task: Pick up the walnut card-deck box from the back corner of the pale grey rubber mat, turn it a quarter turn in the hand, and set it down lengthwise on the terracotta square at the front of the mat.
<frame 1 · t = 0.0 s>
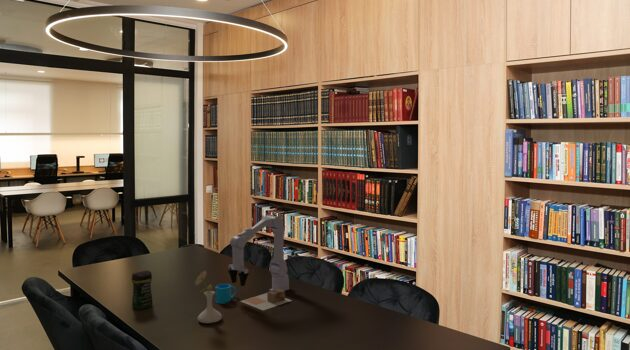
hand: (238, 284, 242), 10 cm above the table, tool pointing down, fingers open, 7 cm apart
card mat: (266, 301, 244), on the table
coffee jar: (142, 307, 237), on the table
mug: (226, 300, 247), on the table
deck box: (276, 300, 244), point 1 cm above the table, touching card mat
flower in vase: (208, 321, 218), on the table
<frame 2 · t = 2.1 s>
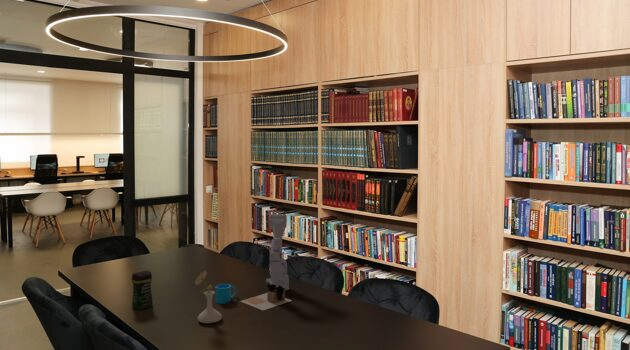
hand: (276, 298, 244), 2 cm above the table, tool pointing down, fingers closed on deck box, 5 cm apart
deck box: (276, 300, 244), point 1 cm above the table, touching card mat, gripper
everything else where it was.
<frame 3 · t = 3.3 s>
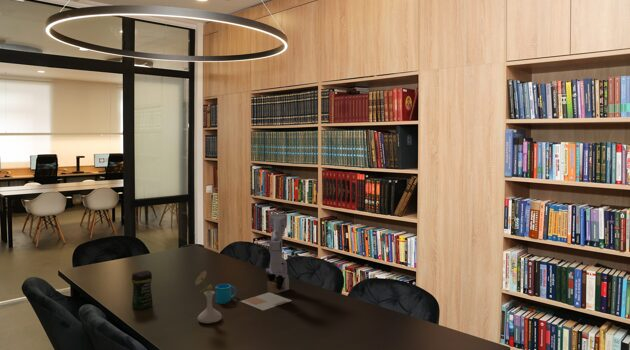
hand: (276, 287, 244), 7 cm above the table, tool pointing down, fingers closed on deck box, 5 cm apart
deck box: (276, 290, 244), point 6 cm above the table, touching gripper
everything else where it was.
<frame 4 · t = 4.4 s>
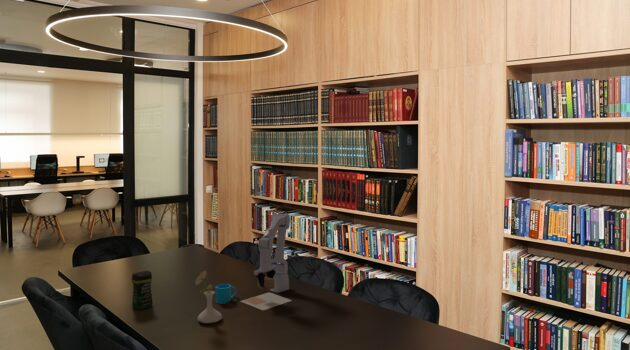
hand: (265, 285, 244), 9 cm above the table, tool pointing down, fingers closed on deck box, 5 cm apart
deck box: (265, 287, 244), point 8 cm above the table, touching gripper
everything else where it was.
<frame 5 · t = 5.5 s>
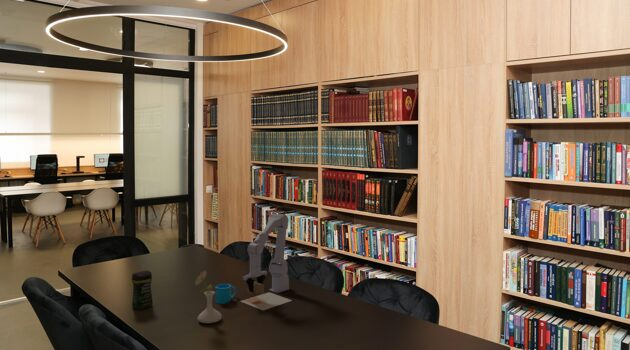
hand: (255, 290, 244), 6 cm above the table, tool pointing down, fingers closed on deck box, 5 cm apart
deck box: (255, 292, 244), point 5 cm above the table, touching gripper
everything else where it was.
when the fingers open (3 cm above the table, at t = 6.6 s): deck box stays where it is, resting on card mat.
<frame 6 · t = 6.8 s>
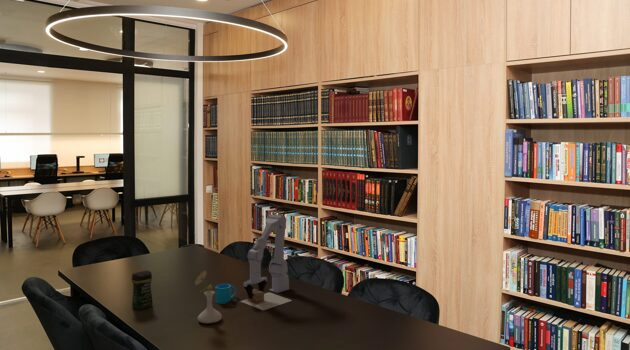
hand: (255, 296, 244), 3 cm above the table, tool pointing down, fingers open, 7 cm apart
deck box: (255, 300, 244), point 1 cm above the table, touching card mat
everything else where it was.
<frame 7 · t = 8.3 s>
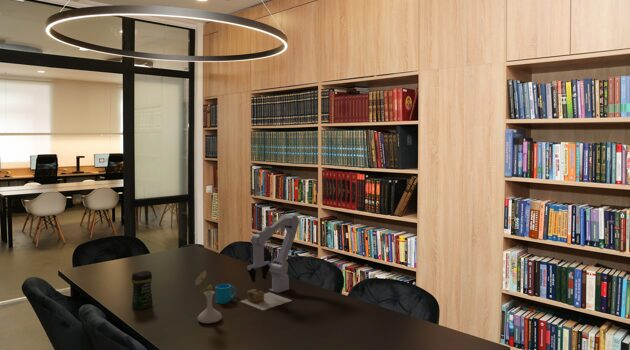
hand: (259, 280, 251), 9 cm above the table, tool pointing down, fingers open, 7 cm apart
nothing on the table moved.
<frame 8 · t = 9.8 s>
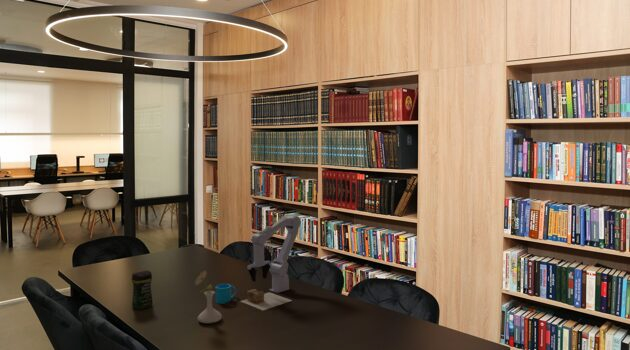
hand: (259, 279, 252), 9 cm above the table, tool pointing down, fingers open, 7 cm apart
nothing on the table moved.
at the end: deck box 0.0 cm from the target spot, point 0.6 cm above the table; deck box tilted 0°; the gripper is holding nothing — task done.
